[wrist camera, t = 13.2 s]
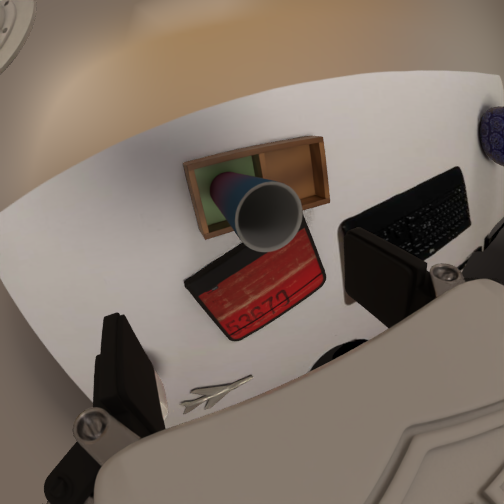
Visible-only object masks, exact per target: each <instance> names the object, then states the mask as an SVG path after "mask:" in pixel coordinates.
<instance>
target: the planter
mask: <svg viewBox="0 0 504 504" xmlns="http://www.w3.org/2000/svg"><path fill="white" fill-rule="evenodd" d="M480 138H481V143H482V147H483V149H484V151H485V153H486V154H487V155H488V157H489V158H490V159H491V160H493V161H494V162H495V163H497V164H499V165H501V166H504V107H501V106H498V107H493V108H490V109H489V110H487V111H486V112H485V113H484V115H483V117H482V120H481V124H480Z"/></svg>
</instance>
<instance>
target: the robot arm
mask: <svg viewBox="0 0 504 504" xmlns="http://www.w3.org/2000/svg"><path fill="white" fill-rule="evenodd" d="M15 20H16V6H15V4H14V3H13V1H12V0H0V49H1V48H2V46H3V45H4V43H5V42H6V40H7V39H8V37H9V35H10V33H11V31H12V29H13V26H14V23H15ZM344 259H345V289H346V292H347V294H348V295H349V296H351V297H352V298H353V299H354V300H355V301H357V302H358V303H359V304H360V305H361V306H363V307H364V308H365V309H366V310H368V311H369V312H370V313H371V314H372V315H374V316H375V317H376V318H377V319H378V320H379V321H381V322H382V323H383V324H384V325H385V326H387V327H388V328H389V329H387V330H386V331H384V332H382V333H381V334H379V335H377V336H376V337H374V338H372V339H370V340H369V341H367V342H365V343H364V344H362V345H360V346H358V347H356V348H355V349H353V350H351V351H349V352H347V353H346V354H344V355H342V356H340V357H338V358H336V359H334V360H332V361H330V362H329V363H327V364H325V365H323V366H321V367H319V368H317V369H315V370H313V371H311V372H309V373H306V374H304V375H302V376H300V377H298V378H296V379H294V380H292V381H289V382H287V383H285V384H283V385H281V386H278V387H276V388H274V389H272V390H269V391H267V392H265V393H262V394H260V395H257V396H255V397H253V398H250V399H248V400H245V401H243V402H240V403H237V404H235V405H232V406H230V407H227V408H224V409H222V410H219V411H216V412H214V413H211V414H208V415H205V416H203V417H200V418H197V419H194V420H191V421H188V422H185V423H182V424H179V425H176V426H173V427H171V428H168V429H165V425H164V420H163V415H162V410H161V405H160V400H159V394H158V389H157V383H156V377H155V371H154V368H153V365H152V363H151V361H150V360H149V358H148V356H147V355H146V353H145V351H144V349H143V348H142V346H141V344H140V342H139V341H138V339H137V337H136V335H135V333H134V332H133V330H132V328H131V326H130V324H129V322H128V320H127V318H126V317H125V315H120V314H119V313H114V314H111V315H108V316H105V317H104V320H103V329H102V340H101V353H100V354H99V355H97V356H96V359H95V373H94V393H93V408H89V409H87V410H85V411H83V412H82V413H81V414H79V416H78V417H77V418H76V420H75V422H74V425H73V434H74V437H75V439H76V440H77V442H76V443H75V445H74V446H73V447H72V448H71V449H70V450H69V452H68V453H67V454H66V455H65V456H64V458H63V459H62V460H61V461H60V463H59V464H58V465H57V466H56V467H55V468H54V470H53V471H52V472H51V473H50V475H49V476H48V477H47V479H46V481H45V484H44V493H45V496H46V498H47V500H48V501H47V504H504V284H503V283H502V282H501V281H500V280H498V279H483V278H464V277H463V275H462V273H461V271H460V270H459V269H458V268H457V267H455V266H453V265H450V264H443V263H441V264H436V265H434V266H432V267H431V269H430V272H428V271H427V263H426V262H424V261H422V260H421V259H419V258H417V257H415V256H413V255H412V254H410V253H408V252H406V251H404V250H402V249H401V248H399V247H397V246H395V245H393V244H391V243H389V242H387V241H386V240H384V239H382V238H380V237H378V236H376V235H374V234H372V233H370V232H368V231H366V230H364V229H362V228H360V227H358V228H355V229H352V230H349V231H347V233H346V235H345V236H344Z"/></svg>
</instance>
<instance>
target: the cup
mask: <svg viewBox="0 0 504 504" xmlns="http://www.w3.org/2000/svg"><path fill="white" fill-rule="evenodd" d="M210 195H211V198H212V200H213V201H214V203H215V204H216V206H217V207H218V208H219V210H220V211H221V213H222V214H223V216H224V217H225V218H226V220H227V221H228V223H229V224H230V226H231V227H232V228H233V230H234V231H235V233H236V234H237V236H238V237H239V238H240V240H241V241H242V242H243V243H244V244H245V245H246V246H247V247H249V248H250V249H252V250H255V251H259V252H271V251H276V250H278V249H280V248H282V247H284V246H285V245H287V244H288V243H289V242H290V241H291V240H292V239H293V238H294V236H295V235H296V234H297V232H298V230H299V228H300V225H301V222H302V216H303V212H302V204H301V201H300V199H299V197H298V195H297V194H296V192H295V191H294V190H293V189H292V188H291V187H289V186H288V185H286V184H284V183H281V182H277V181H272V180H268V179H263V178H259V177H254V176H249V175H244V174H239V173H234V172H223V173H221V174H219V175H217V176H216V177H215V178H214V179H213V181H212V183H211V185H210Z"/></svg>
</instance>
